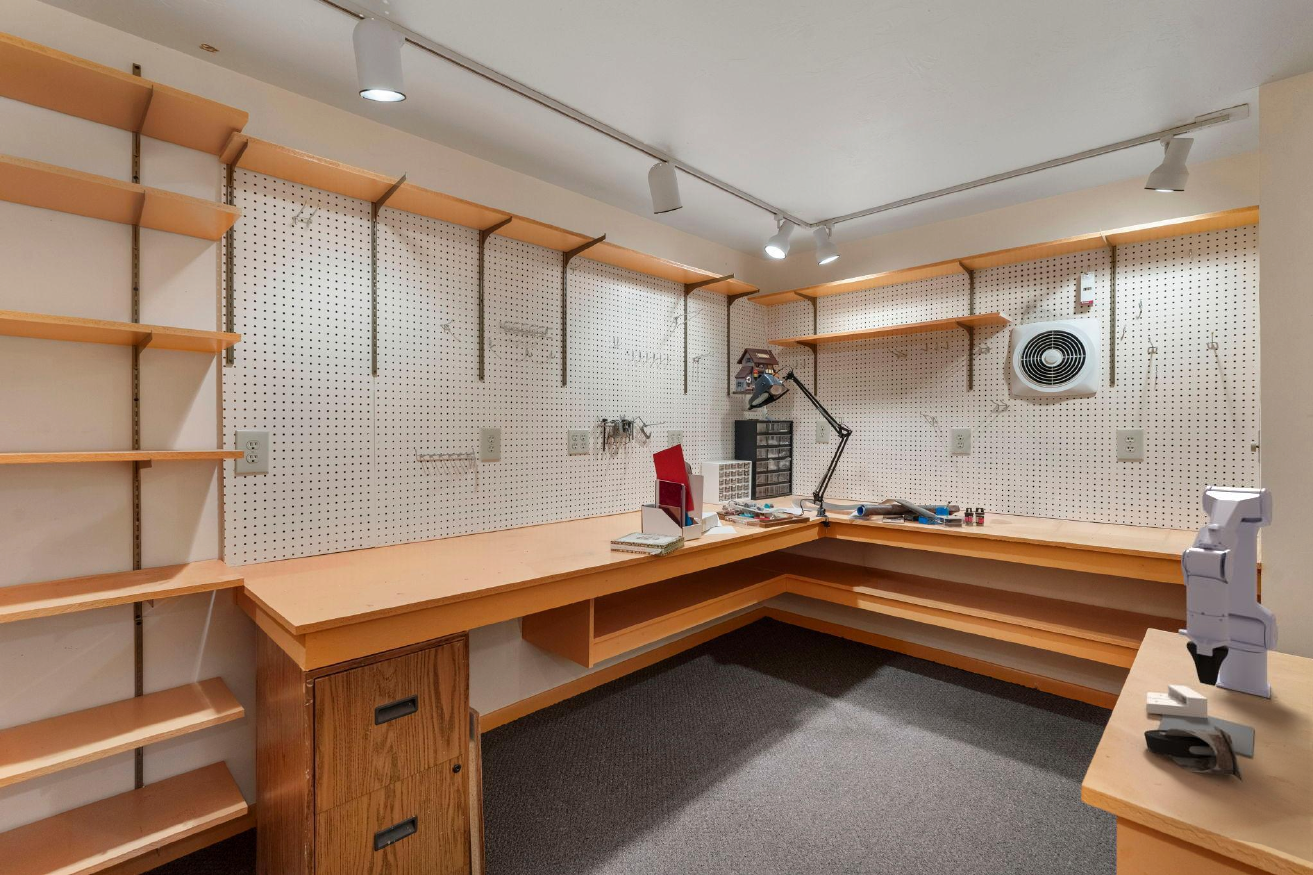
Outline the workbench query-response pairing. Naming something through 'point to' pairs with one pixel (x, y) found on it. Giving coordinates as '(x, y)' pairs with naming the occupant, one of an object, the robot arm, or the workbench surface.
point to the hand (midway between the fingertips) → (1207, 683)
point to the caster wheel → (1196, 749)
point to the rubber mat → (1238, 732)
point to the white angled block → (1177, 702)
